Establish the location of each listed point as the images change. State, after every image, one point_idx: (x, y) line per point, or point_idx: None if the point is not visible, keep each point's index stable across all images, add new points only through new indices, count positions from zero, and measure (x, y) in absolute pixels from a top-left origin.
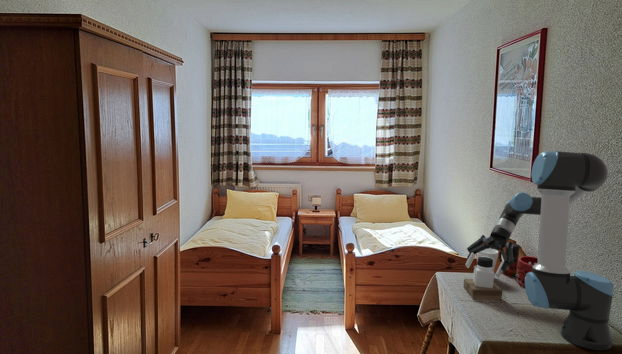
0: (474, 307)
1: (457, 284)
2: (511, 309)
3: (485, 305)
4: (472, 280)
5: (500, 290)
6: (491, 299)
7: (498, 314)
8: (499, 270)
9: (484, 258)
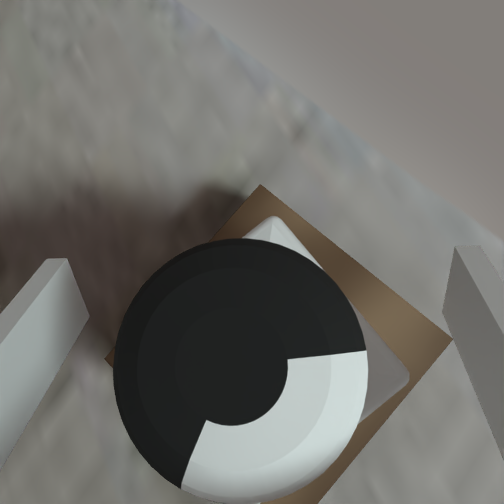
0: (193, 109)
1: None
2: None
3: (165, 189)
4: None
5: None
6: None
7: (64, 144)
8: (16, 302)
9: (221, 305)
